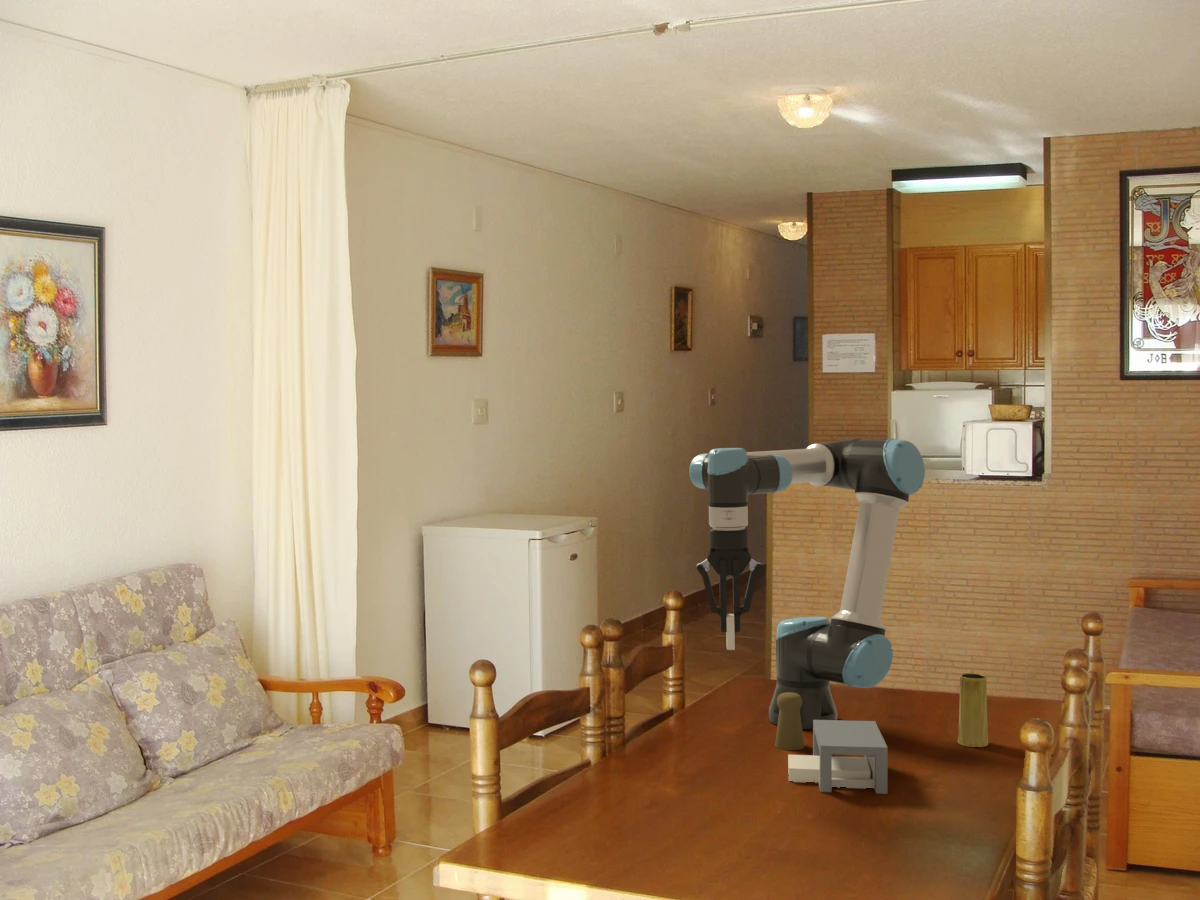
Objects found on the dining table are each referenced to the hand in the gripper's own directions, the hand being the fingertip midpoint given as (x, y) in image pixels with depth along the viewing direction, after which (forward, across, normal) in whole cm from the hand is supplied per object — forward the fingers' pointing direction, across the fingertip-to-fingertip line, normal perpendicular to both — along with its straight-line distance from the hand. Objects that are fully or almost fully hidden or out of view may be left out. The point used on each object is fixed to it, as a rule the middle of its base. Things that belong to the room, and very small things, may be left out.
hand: (730, 648), depth 230 cm
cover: (+24, +18, -5) cm, 30 cm away
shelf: (+24, +22, -6) cm, 33 cm away
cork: (+24, +12, +15) cm, 31 cm away
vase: (+25, +50, +18) cm, 59 cm away
